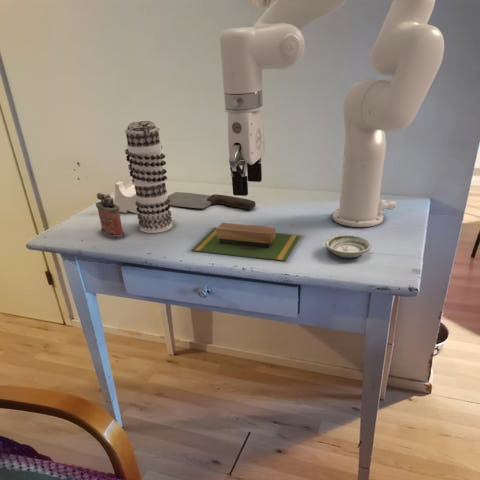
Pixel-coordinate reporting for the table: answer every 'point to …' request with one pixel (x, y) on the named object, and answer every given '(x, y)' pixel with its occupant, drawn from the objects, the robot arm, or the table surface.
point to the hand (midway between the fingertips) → (248, 188)
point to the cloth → (249, 247)
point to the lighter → (109, 217)
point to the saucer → (348, 245)
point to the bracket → (125, 198)
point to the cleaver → (208, 200)
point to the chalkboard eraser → (246, 235)
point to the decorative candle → (148, 176)
